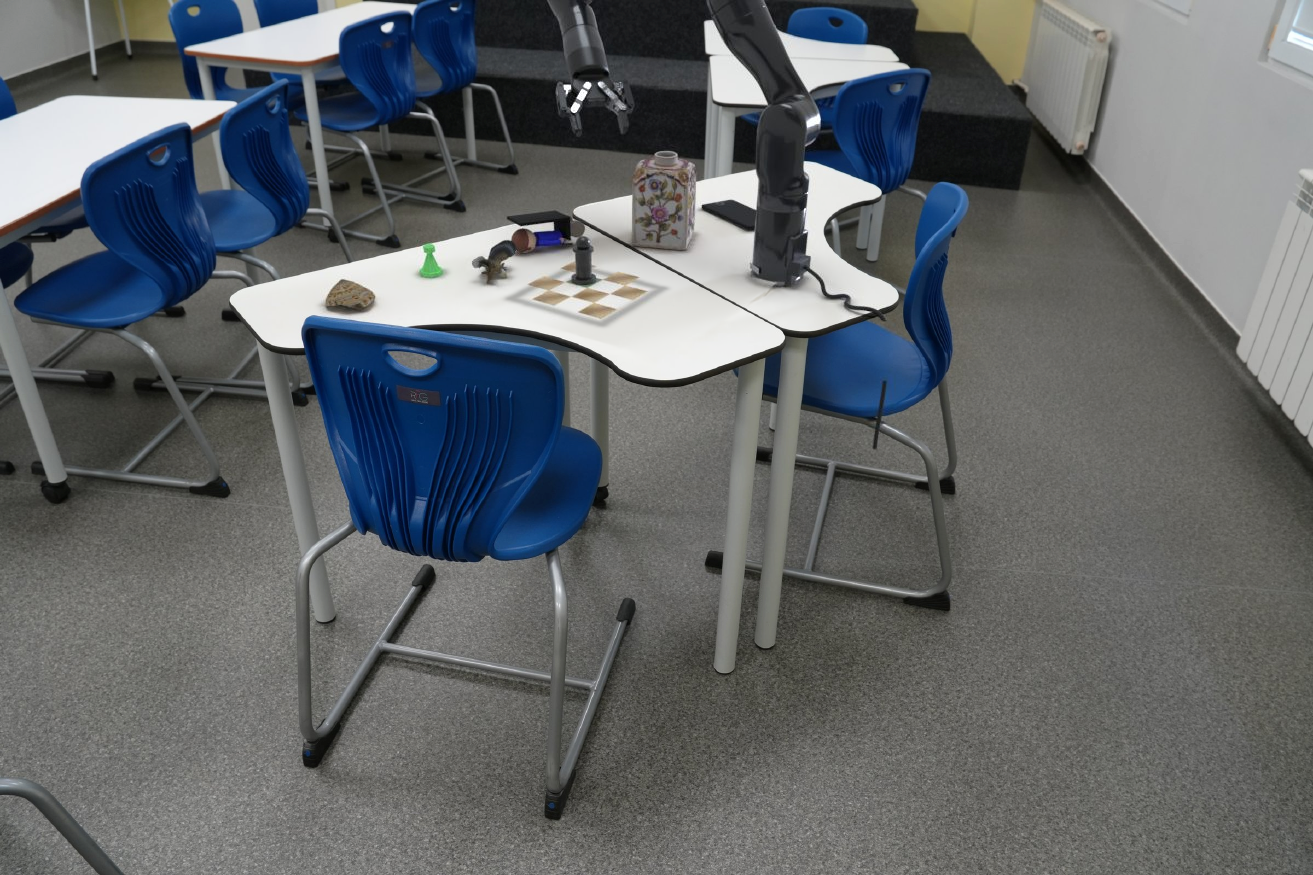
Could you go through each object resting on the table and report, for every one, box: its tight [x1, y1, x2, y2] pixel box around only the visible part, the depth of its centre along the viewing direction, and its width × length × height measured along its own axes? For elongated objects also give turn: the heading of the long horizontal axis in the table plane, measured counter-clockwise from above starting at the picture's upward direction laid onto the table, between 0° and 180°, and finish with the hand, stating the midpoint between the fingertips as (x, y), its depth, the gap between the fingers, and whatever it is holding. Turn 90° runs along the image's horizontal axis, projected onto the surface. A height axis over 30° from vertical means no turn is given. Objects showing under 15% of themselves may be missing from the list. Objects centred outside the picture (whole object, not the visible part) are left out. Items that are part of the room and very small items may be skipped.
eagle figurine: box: [471, 239, 517, 285], centre depth 184 cm, size 8×7×9 cm
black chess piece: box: [570, 235, 597, 286], centre depth 179 cm, size 5×5×8 cm
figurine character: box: [506, 209, 586, 254], centre depth 198 cm, size 7×8×15 cm
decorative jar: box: [631, 150, 698, 251], centre depth 200 cm, size 12×12×18 cm
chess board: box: [527, 260, 649, 320], centre depth 179 cm, size 20×20×1 cm
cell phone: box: [701, 199, 756, 231], centre depth 219 cm, size 9×18×1 cm, turn 33°
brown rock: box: [325, 278, 377, 310], centre depth 171 cm, size 8×6×8 cm
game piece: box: [419, 242, 444, 279], centre depth 184 cm, size 4×4×6 cm
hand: (602, 133), depth 181 cm, fingers open, 8 cm apart
